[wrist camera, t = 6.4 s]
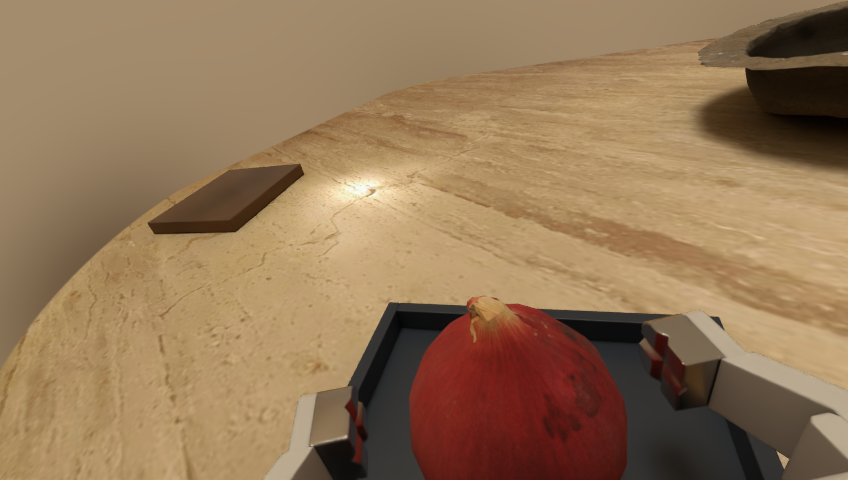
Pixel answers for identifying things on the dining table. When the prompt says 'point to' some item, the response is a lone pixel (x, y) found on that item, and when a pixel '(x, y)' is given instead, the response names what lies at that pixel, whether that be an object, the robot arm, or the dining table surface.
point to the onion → (515, 401)
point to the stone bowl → (792, 61)
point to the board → (227, 200)
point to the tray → (619, 349)
